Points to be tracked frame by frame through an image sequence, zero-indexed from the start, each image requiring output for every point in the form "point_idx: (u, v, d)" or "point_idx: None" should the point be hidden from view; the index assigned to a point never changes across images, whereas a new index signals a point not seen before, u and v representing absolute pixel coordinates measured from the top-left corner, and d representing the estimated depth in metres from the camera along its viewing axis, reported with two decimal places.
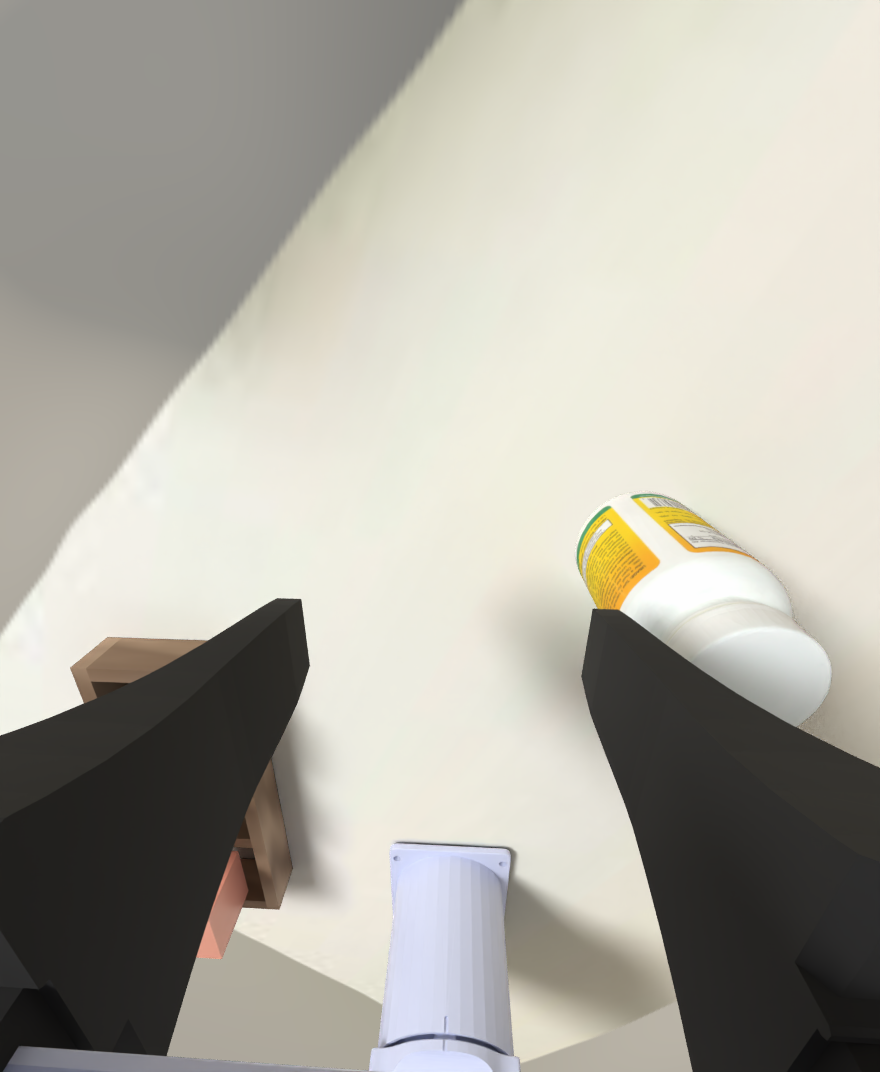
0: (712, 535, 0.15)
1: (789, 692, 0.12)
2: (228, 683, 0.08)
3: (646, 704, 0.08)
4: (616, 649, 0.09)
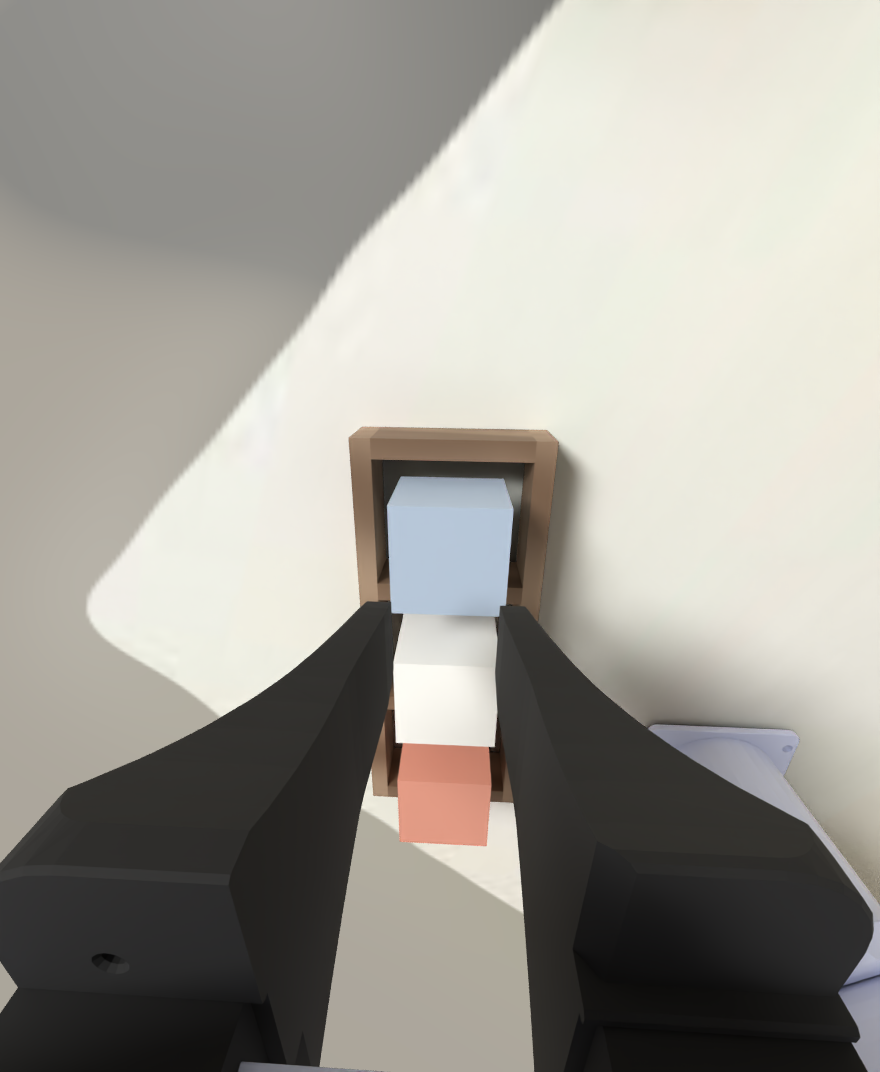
0: None
1: None
2: (353, 688, 0.08)
3: (521, 699, 0.08)
4: (508, 645, 0.09)
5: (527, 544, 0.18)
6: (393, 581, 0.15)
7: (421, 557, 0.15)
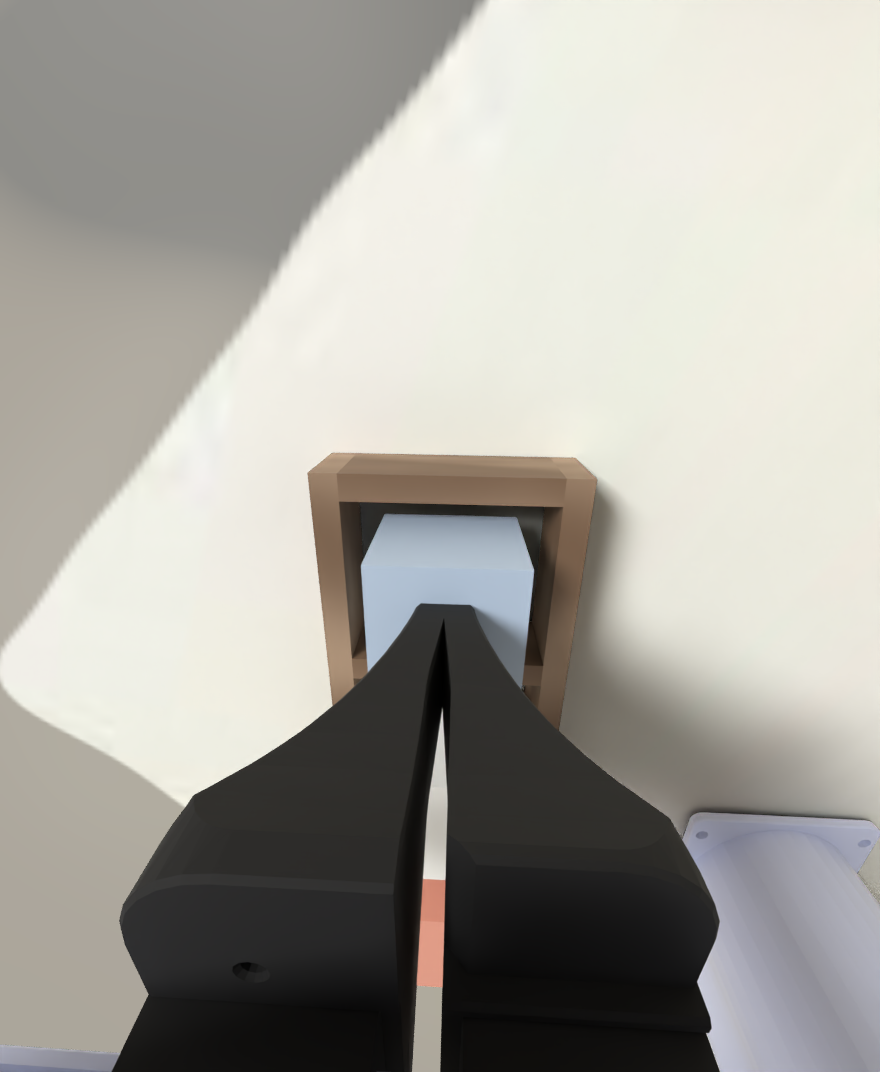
0: None
1: None
2: (428, 690, 0.08)
3: (448, 696, 0.08)
4: (445, 643, 0.09)
5: (550, 611, 0.14)
6: (371, 660, 0.11)
7: None
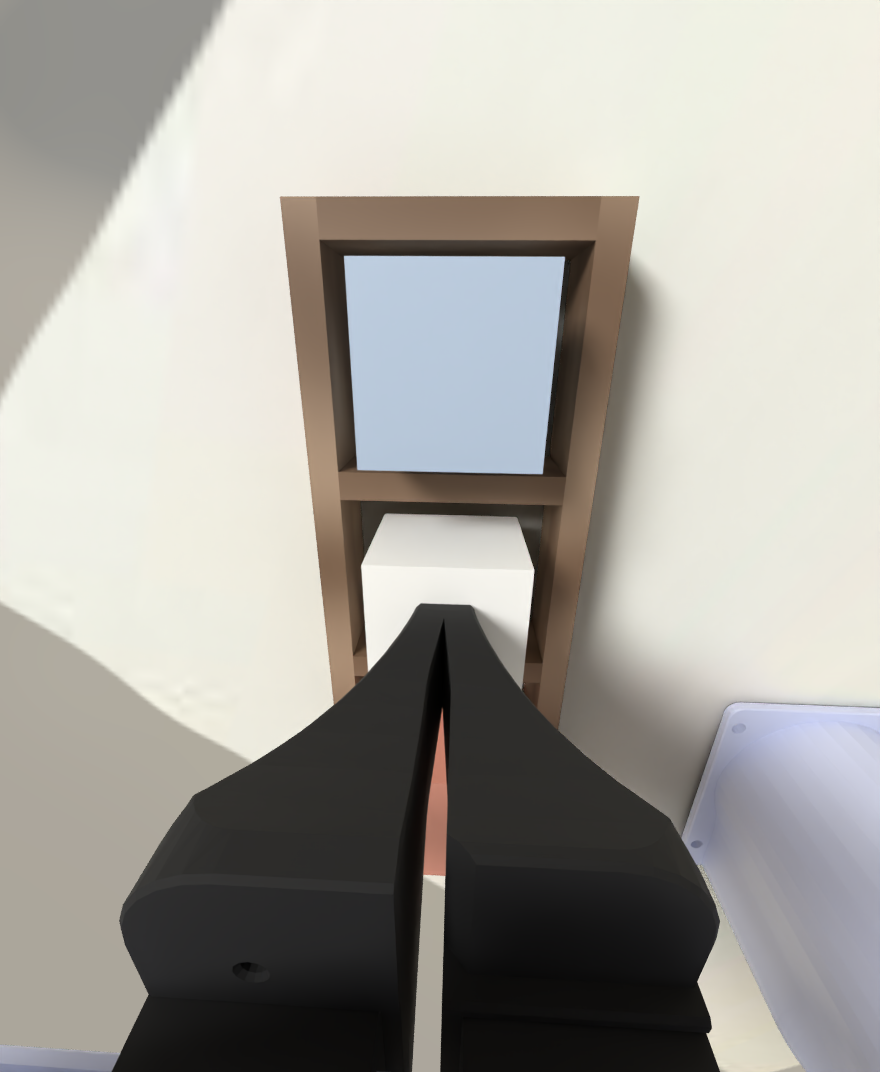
0: None
1: None
2: (428, 690, 0.08)
3: (448, 696, 0.08)
4: (445, 643, 0.09)
5: (576, 398, 0.11)
6: (359, 409, 0.09)
7: (404, 360, 0.09)
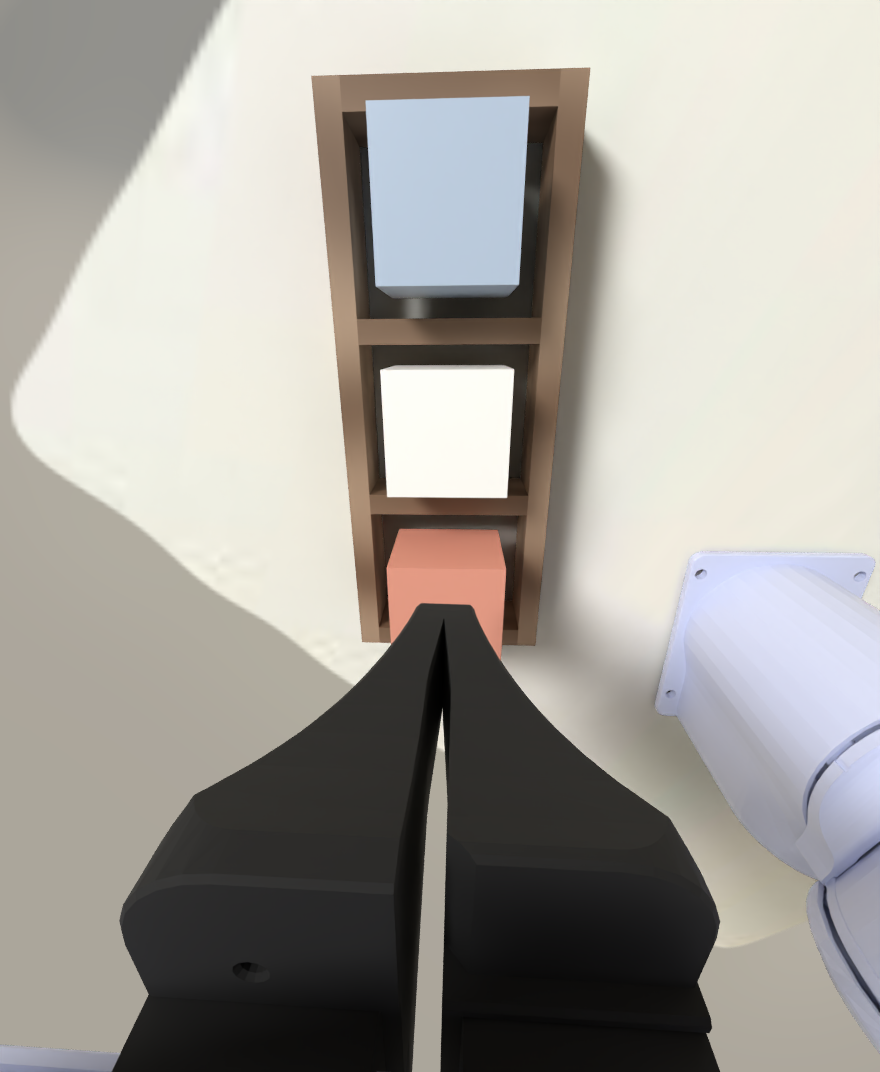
0: None
1: None
2: (428, 691, 0.08)
3: (448, 696, 0.08)
4: (445, 643, 0.09)
5: (548, 245, 0.14)
6: (377, 232, 0.12)
7: (411, 188, 0.12)
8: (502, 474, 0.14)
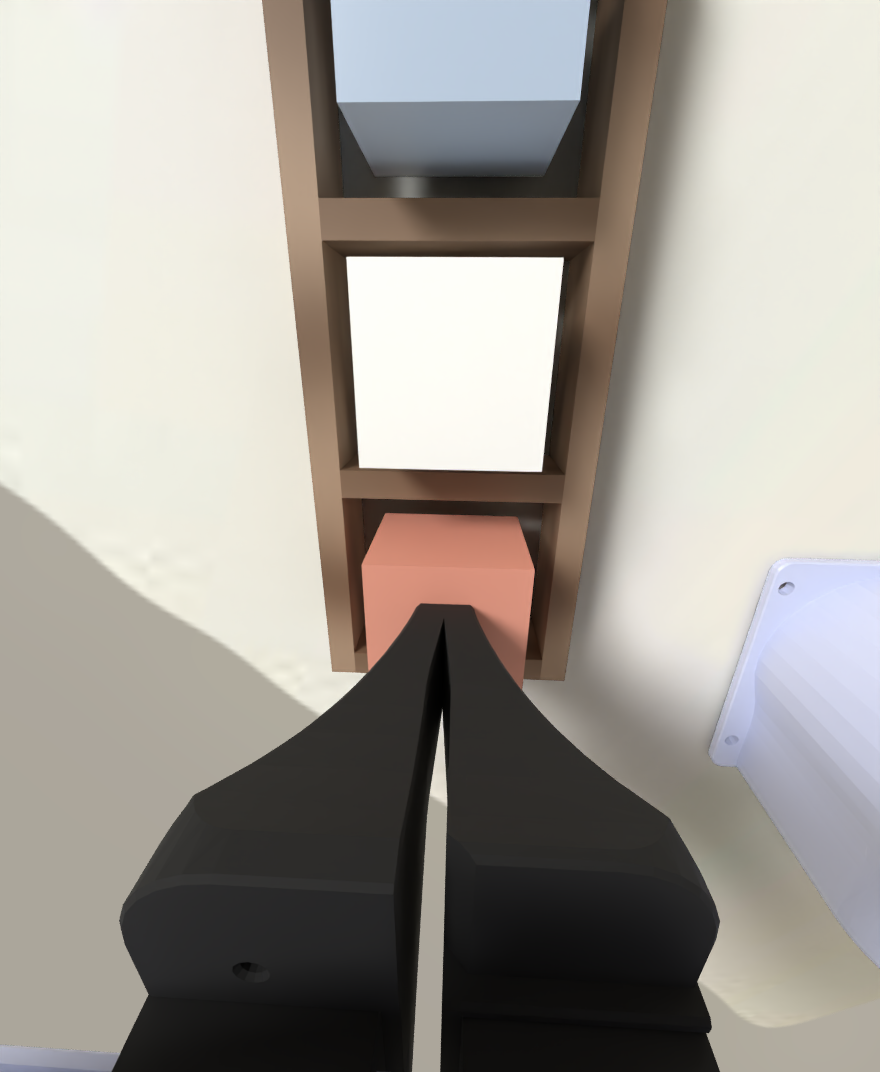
0: None
1: None
2: (428, 691, 0.08)
3: (448, 696, 0.08)
4: (445, 643, 0.09)
5: (616, 74, 0.09)
6: None
7: None
8: (536, 434, 0.09)
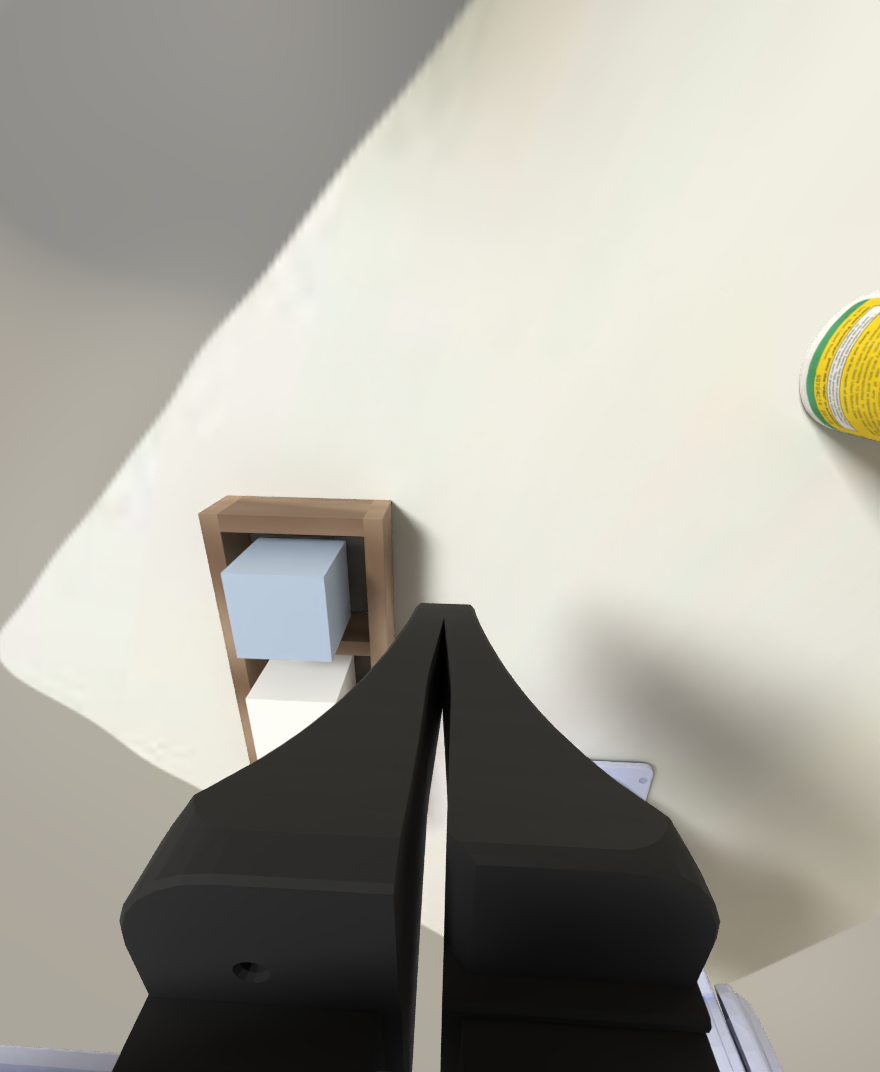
0: None
1: None
2: (428, 691, 0.08)
3: (448, 696, 0.08)
4: (445, 643, 0.09)
5: (368, 604, 0.20)
6: (235, 632, 0.18)
7: (254, 613, 0.18)
8: None
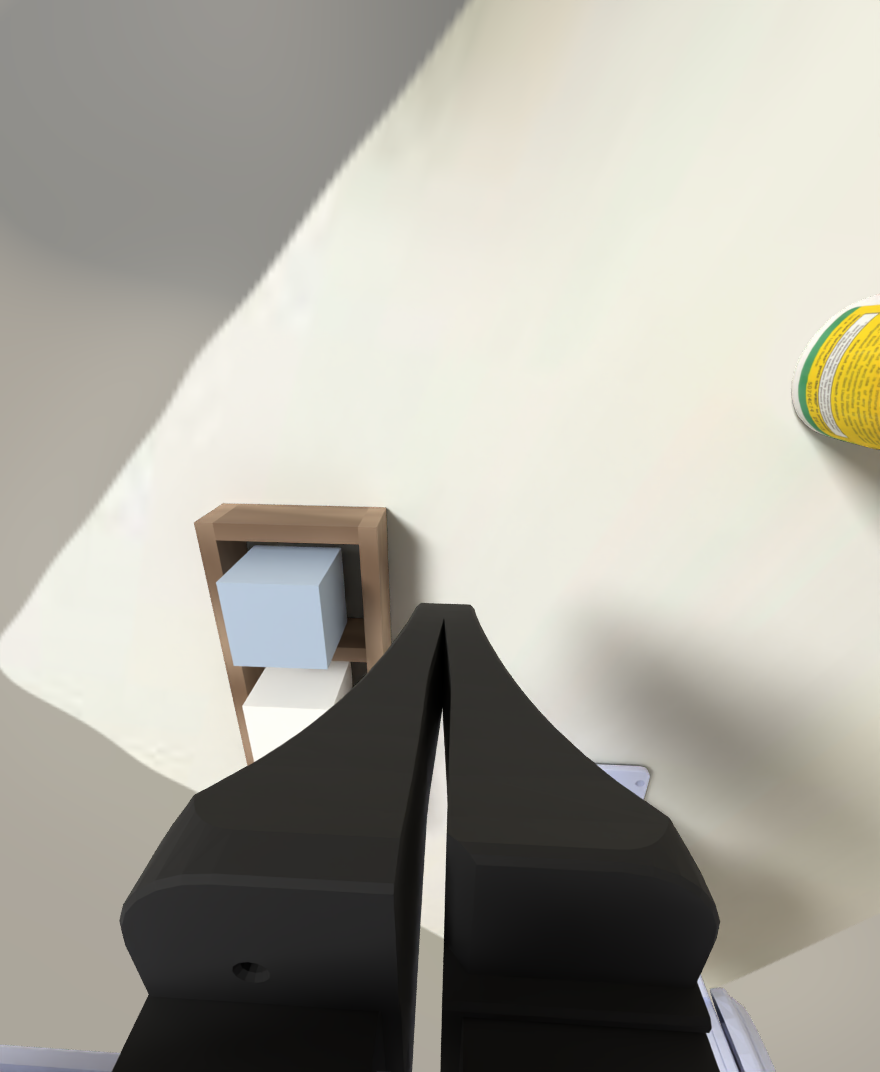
0: None
1: None
2: (428, 691, 0.08)
3: (448, 696, 0.08)
4: (445, 643, 0.09)
5: (364, 611, 0.20)
6: (231, 640, 0.18)
7: (250, 622, 0.18)
8: None
